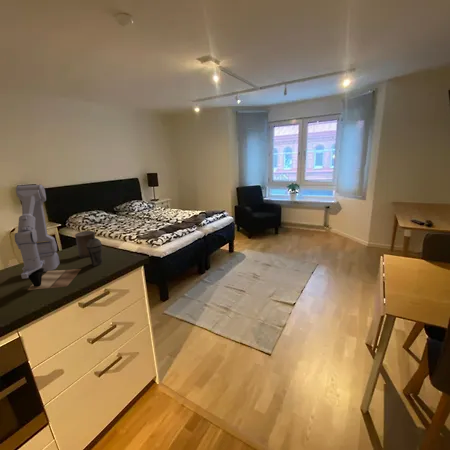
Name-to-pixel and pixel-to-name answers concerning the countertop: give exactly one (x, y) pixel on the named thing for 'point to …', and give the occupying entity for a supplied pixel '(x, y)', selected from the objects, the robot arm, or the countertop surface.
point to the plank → (48, 279)
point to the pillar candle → (83, 243)
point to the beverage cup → (95, 250)
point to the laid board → (66, 278)
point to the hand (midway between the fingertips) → (37, 285)
